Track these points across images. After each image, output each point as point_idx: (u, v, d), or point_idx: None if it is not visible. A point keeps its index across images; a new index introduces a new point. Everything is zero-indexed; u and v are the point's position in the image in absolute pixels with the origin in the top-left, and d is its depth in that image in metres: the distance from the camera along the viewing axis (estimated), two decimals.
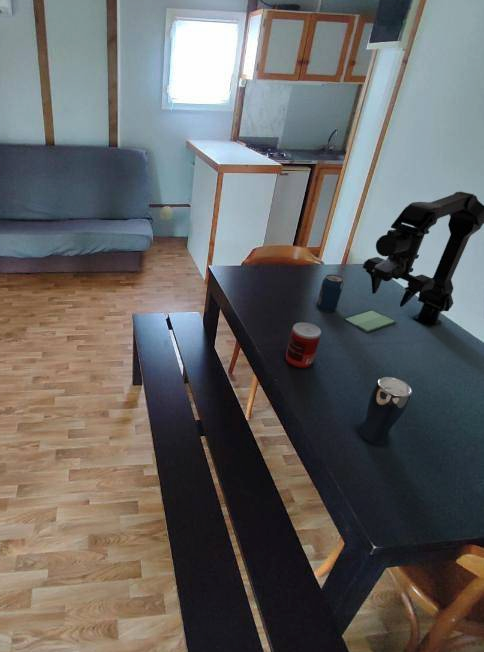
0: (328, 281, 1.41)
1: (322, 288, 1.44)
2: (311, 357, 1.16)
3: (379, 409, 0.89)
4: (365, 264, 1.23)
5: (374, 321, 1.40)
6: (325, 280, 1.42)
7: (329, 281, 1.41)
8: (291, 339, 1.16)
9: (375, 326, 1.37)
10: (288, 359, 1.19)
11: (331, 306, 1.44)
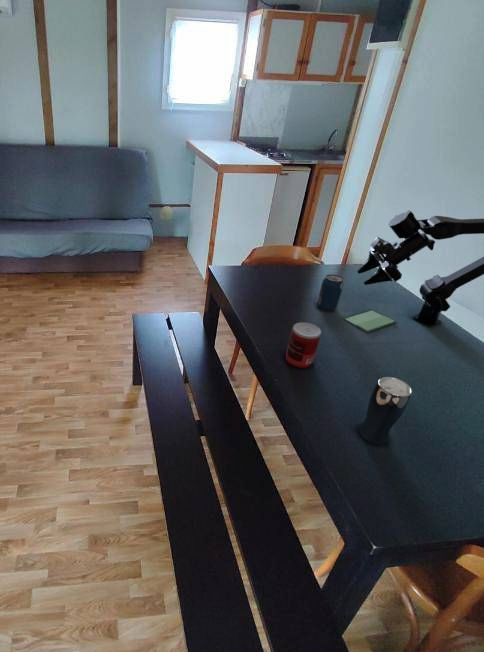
0: (328, 281, 1.41)
1: (322, 288, 1.44)
2: (311, 357, 1.16)
3: (379, 409, 0.89)
4: None
5: (374, 321, 1.40)
6: (325, 280, 1.42)
7: (329, 281, 1.41)
8: (291, 339, 1.16)
9: (375, 326, 1.37)
10: (288, 359, 1.19)
11: (331, 306, 1.44)
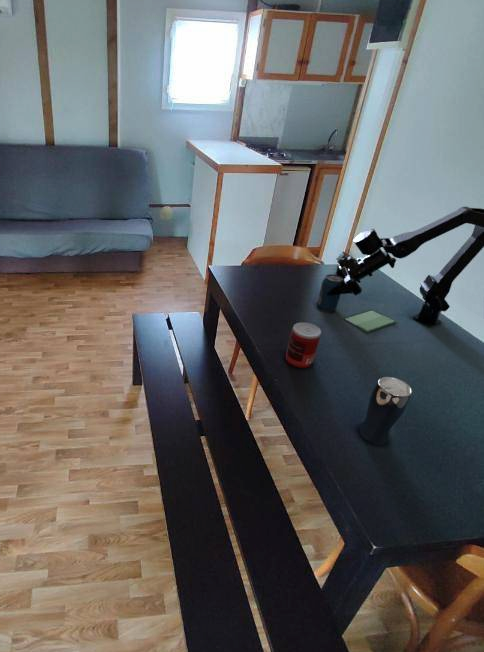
0: (328, 281, 1.41)
1: (322, 288, 1.44)
2: (311, 357, 1.16)
3: (379, 409, 0.89)
4: None
5: (374, 321, 1.40)
6: (325, 280, 1.42)
7: (329, 281, 1.41)
8: (291, 339, 1.16)
9: (375, 326, 1.37)
10: (288, 359, 1.19)
11: (331, 306, 1.44)
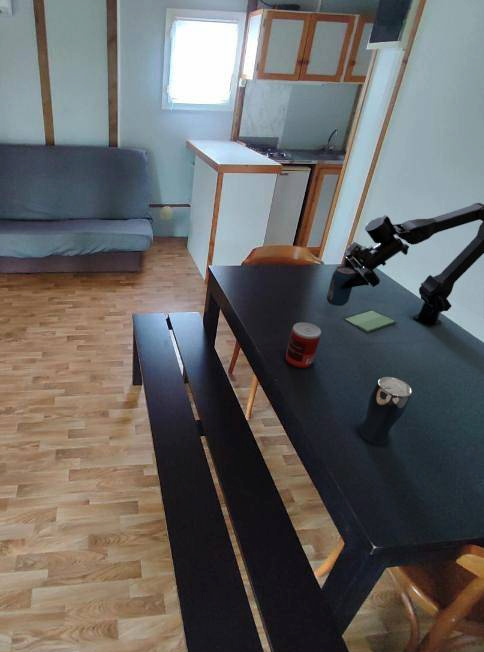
0: (340, 274, 1.33)
1: (334, 282, 1.35)
2: (311, 357, 1.16)
3: (379, 409, 0.89)
4: (347, 251, 1.39)
5: (374, 321, 1.40)
6: (337, 273, 1.34)
7: (342, 274, 1.32)
8: (291, 339, 1.16)
9: (375, 326, 1.37)
10: (288, 359, 1.19)
11: (344, 300, 1.36)
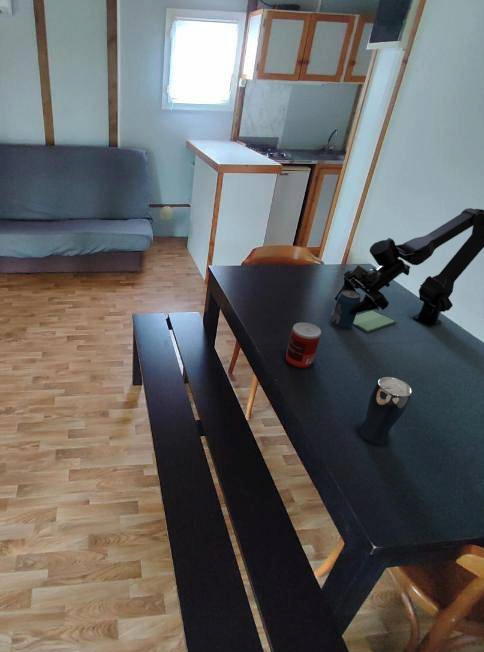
0: (347, 298, 1.30)
1: (340, 306, 1.33)
2: (311, 357, 1.16)
3: (379, 409, 0.89)
4: (347, 272, 1.37)
5: (374, 321, 1.40)
6: (343, 297, 1.31)
7: (349, 298, 1.30)
8: (291, 339, 1.16)
9: (375, 326, 1.37)
10: (288, 359, 1.19)
11: (350, 323, 1.34)
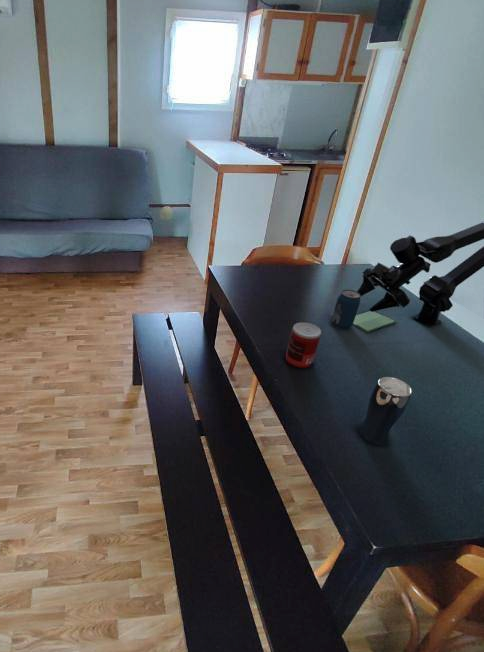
0: (347, 298, 1.30)
1: (340, 306, 1.33)
2: (311, 357, 1.16)
3: (379, 409, 0.89)
4: (366, 270, 1.37)
5: (374, 321, 1.40)
6: (343, 297, 1.31)
7: (349, 298, 1.30)
8: (291, 339, 1.16)
9: (375, 326, 1.37)
10: (288, 359, 1.19)
11: (350, 323, 1.34)
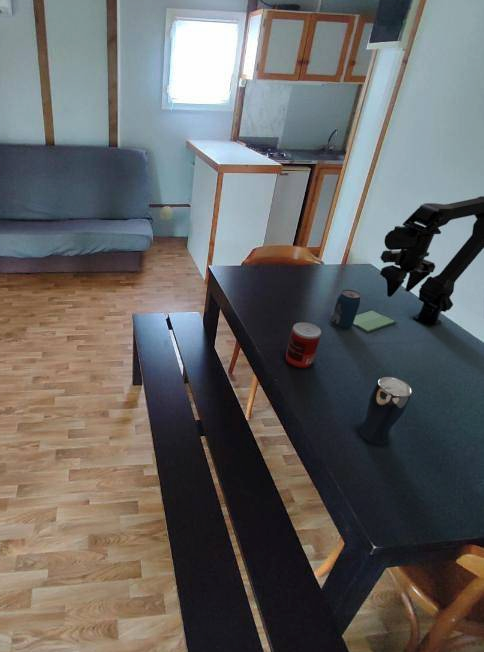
0: (347, 298, 1.30)
1: (340, 306, 1.33)
2: (311, 357, 1.16)
3: (379, 409, 0.89)
4: None
5: (374, 321, 1.40)
6: (343, 297, 1.31)
7: (349, 298, 1.30)
8: (291, 339, 1.16)
9: (375, 326, 1.37)
10: (288, 359, 1.19)
11: (350, 323, 1.34)
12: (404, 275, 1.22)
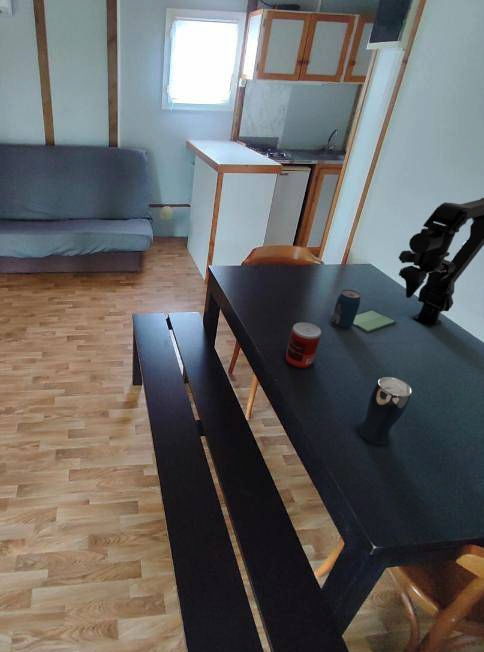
0: (347, 298, 1.30)
1: (340, 306, 1.33)
2: (311, 357, 1.16)
3: (379, 409, 0.89)
4: None
5: (374, 321, 1.40)
6: (343, 297, 1.31)
7: (349, 298, 1.30)
8: (291, 339, 1.16)
9: (375, 326, 1.37)
10: (288, 359, 1.19)
11: (350, 323, 1.34)
12: (424, 276, 1.20)
